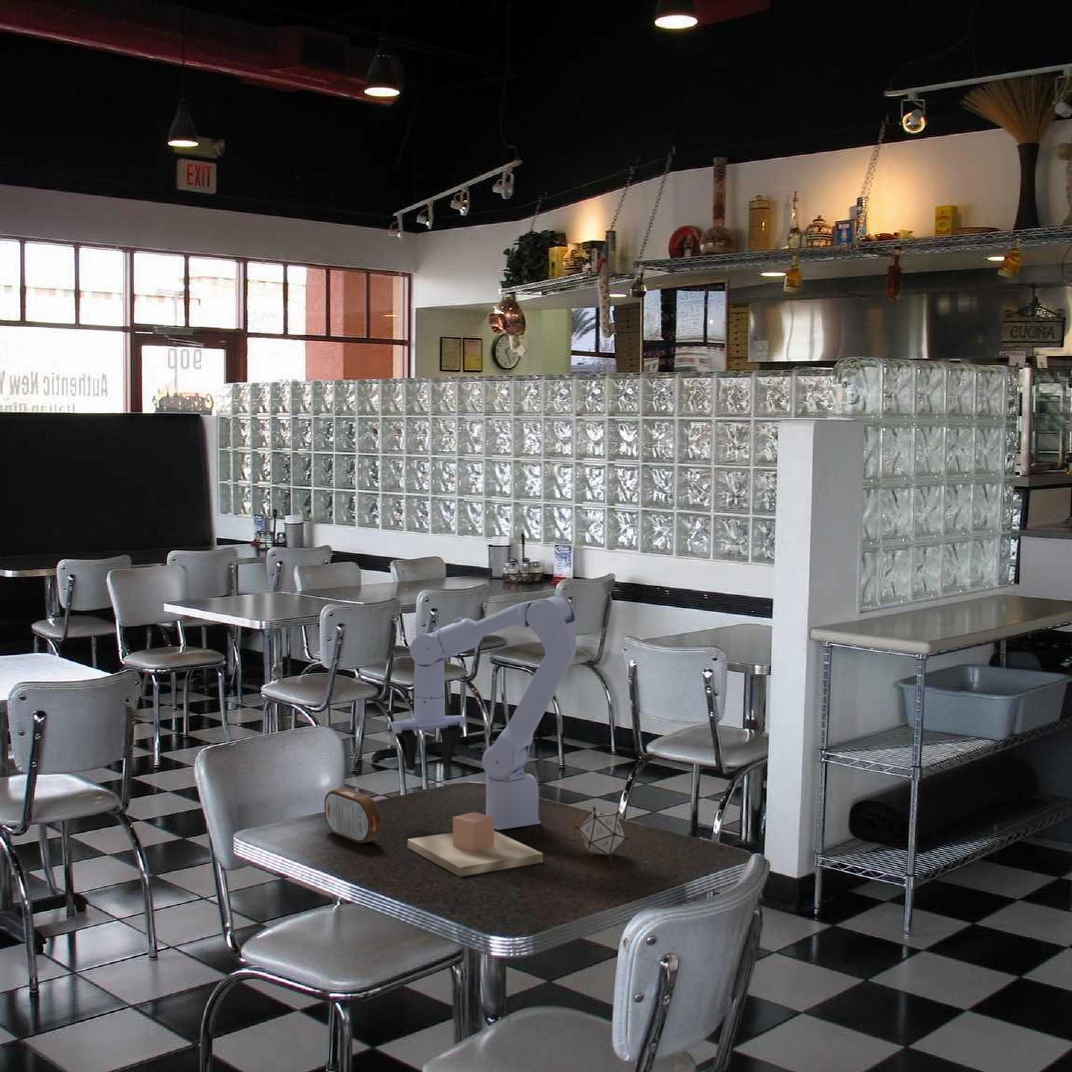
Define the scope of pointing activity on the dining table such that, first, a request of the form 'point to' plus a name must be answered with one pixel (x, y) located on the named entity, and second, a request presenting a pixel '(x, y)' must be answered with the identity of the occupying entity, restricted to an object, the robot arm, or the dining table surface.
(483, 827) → the terracotta cube
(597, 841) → the game die
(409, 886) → the dining table surface
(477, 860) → the maple board
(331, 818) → the tin
